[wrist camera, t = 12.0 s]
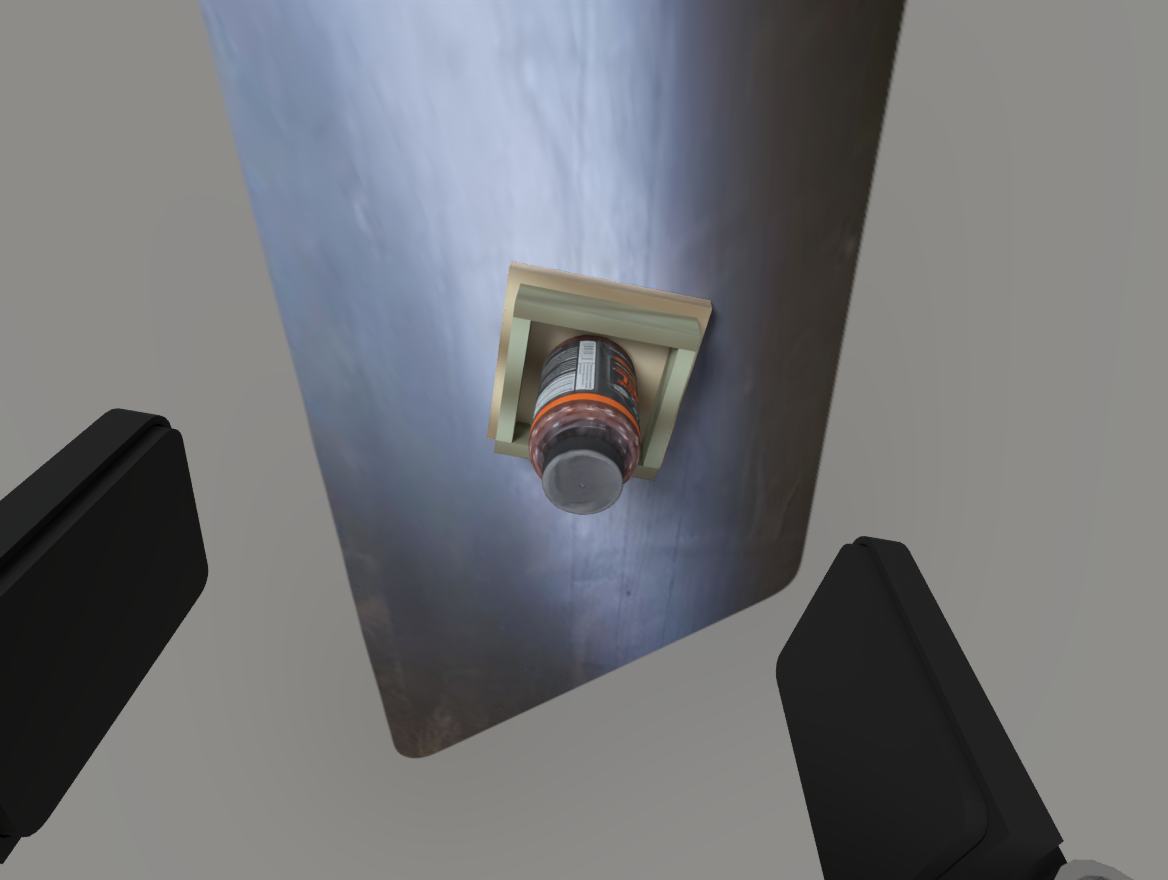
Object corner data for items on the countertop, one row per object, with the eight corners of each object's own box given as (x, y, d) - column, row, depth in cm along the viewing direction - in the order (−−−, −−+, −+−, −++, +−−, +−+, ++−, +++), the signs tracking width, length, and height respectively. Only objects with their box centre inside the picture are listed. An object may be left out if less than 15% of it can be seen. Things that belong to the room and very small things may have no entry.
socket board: (511, 261, 38) (503, 284, 35) (709, 300, 39) (718, 326, 36) (490, 428, 45) (481, 460, 42) (659, 458, 46) (662, 491, 43)
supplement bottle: (651, 393, 41) (664, 509, 32) (569, 427, 43) (558, 547, 34) (611, 314, 38) (611, 417, 29) (524, 354, 40) (498, 463, 31)
